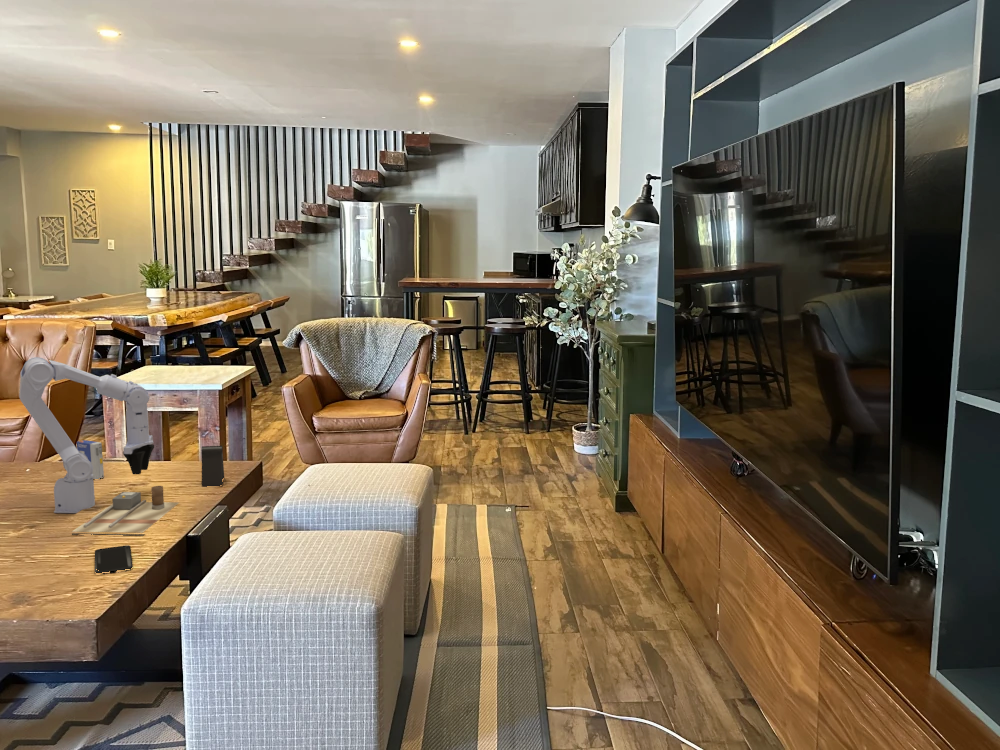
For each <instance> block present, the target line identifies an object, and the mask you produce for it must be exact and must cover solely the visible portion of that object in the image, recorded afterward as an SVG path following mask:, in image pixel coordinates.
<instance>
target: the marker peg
mask: <svg viewBox="0 0 1000 750" xmlns="http://www.w3.org/2000/svg"><path fill="white" fill-rule="evenodd" d="M150 490H151V502H152V509H153V510H160V509H163V508H164V502H165V499H164V498H165V497H164V486H163V485H153V486H152V487H151V489H150Z"/></svg>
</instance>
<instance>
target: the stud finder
mask: <svg viewBox="0 0 1000 750" xmlns="http://www.w3.org/2000/svg"><path fill="white" fill-rule="evenodd" d="M141 498H142V495H141V491H139V492H138V491H122V492H121V493H119V494H117V495H116V496H114V497H113V498H112V504H113V509H132V508H133V507H135V506H136V505H138V504H139V503H140V502H142V499H141Z"/></svg>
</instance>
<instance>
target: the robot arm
mask: <svg viewBox="0 0 1000 750" xmlns="http://www.w3.org/2000/svg"><path fill="white" fill-rule="evenodd" d="M48 361H49V362H48ZM19 374H20V381H19V393H18V397H19V400H20V402H21V403H22V405H23V406H24V408H25V409H26V410H27V412H28V413H29V415H30V416H31V418H32V419H33V420H34V421H35V423H36V424H37V426H38V427H39V430H41V431H42V433H43V434H44V435H45V437H46V439H47V440H48V441H49V443H50V445H51V446H52V447H53V449H54V450H55V452H56V453H57V454H58V456H59V457H60V458H61V460H62V464H63V465H62V466H63V468H64V470H65V471H66V474H65V476H64V477H61V478H58V479H57V480H56V481H55V483H54V486H53V497H54V499H53V500H54V510H53V513H54V514H77V513H79V512H81V511H82V510H87V509H90V508H92V507H94V506H95V505H96V501H95V500H96V498H95V483H94V481H95V480H93V474H92V472H93V465H92V463H91V462H90V461H89V460H88V458H87V456H86V455H85V454H84V453H82V452H80V451H78V450H77V446H76V445H75V444H74V443H73V441H72V440H71V438H70V437H69V436H68V434H67V432H66V431H65V430H64V428H63V427H62V425H61V424H60V422H59V421H58V420H57V418H56V416H55V415H54V414H53V412H52V411H51V410H50V408H49V407H48V405H47V403H45V401H44V400H43V398H42V397H43V394H44V393H45V392H44V391H45V389H46V387H47V386H48V385H49V383H51V381H52V380H54V381H55V382H58V381H61V380H62V381H63V380H65V379H66V380H70V381H73V382H75V383H80V384H83V385H86V386H89V387H93V388H95V390H96V392H97V394H99V395H101V396H105V397H108V398H111V399H114V400H117V401H119V402H124V401H125V409H126V411H125V418H126V420H125V421H126V437H127V441H126V443H125V446H124V447H123V452H122V453H123V456H124V457H125V459H126V460H127V462H128V465H129V468H130V471H131V474H132V475H141V474H142V471H147V470H148V468H149V463H150V459H151V456H152V452H153V450H154V448H155V445H154V438H153V437H154V436H153V435H152V434H151V435H150V429H149V427H150V426H149V412H148V411H149V410H148V403H149V401H150V395H149V393H148V390H147V389H145V387H143V386H141V385H139V384H138V383H135V382H134V381H131V380H129V381H126V380H124V379H121V378H118V376H117V375H115V374H113V373H111V374H110V375H109V374H105V375H102V376H98V375H95V374H93V373H90V372H87V371H84V370H82V369H79V368H76V367H74V366H72V365H69V364H67V363H63V362H60V361H56V360H52V359H51V360H50V359H48V360H46V359H45V358H43V357H40V356H39V357H38V356H35V357H31V358H29V359H28V360H26V361H25V363H24V365H23V367H22V369H21V370H20V373H19Z"/></svg>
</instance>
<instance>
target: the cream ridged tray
mask: <svg viewBox="0 0 1000 750" xmlns="http://www.w3.org/2000/svg"><path fill="white" fill-rule="evenodd" d="M179 504H180V502H177V501H176V502H174V501H173V502H171V501H169V502H166V501H164V508H163V509H160V510H153V509H152V501H147V500H146V499H143V500H141V502H140V503H139V504H138V505H136V506H135V507H133V508H132V509H113V503H112V504H110V505H109V506H107V507H106V508H104V509H103V510H102V511H101V510H100V512H98V513H97V514H96V515H94V516H92V517H91V518H89V519H88V520H87V521H85V522H84V523H82V524H81V525H79V526H78V527H76V528H75V529H73V530H72V531H71V536H79V535H78V534H91V535H92V534H93V535H123V536H122V537H144V536H145V535H146V534H145V533H144V532H145V531H146V530H148V529H150V528H151V527H152V526H153V525H154V524H156V523H157V522H158V521H159V520H160V519H161V518H163V517H164V516H165V515H166V514H168V513H169V512H170V511H171V510H172V509H174V508H175V507H177V506H178V505H179ZM143 533H144V534H143Z"/></svg>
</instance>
